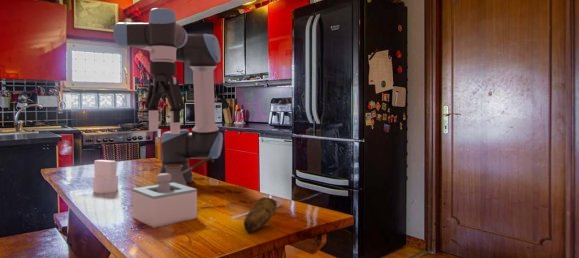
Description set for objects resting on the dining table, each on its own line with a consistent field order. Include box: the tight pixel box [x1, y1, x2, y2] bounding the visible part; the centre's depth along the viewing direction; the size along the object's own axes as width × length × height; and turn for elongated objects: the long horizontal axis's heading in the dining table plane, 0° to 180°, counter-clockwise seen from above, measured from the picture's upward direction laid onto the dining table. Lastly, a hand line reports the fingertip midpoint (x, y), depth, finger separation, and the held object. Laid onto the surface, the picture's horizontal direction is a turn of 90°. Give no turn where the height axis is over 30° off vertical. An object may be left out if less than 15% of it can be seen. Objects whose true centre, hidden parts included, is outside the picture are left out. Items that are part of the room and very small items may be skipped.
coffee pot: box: [164, 157, 215, 186], centre depth 144 cm, size 21×12×15 cm, turn 127°
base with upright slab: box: [92, 159, 119, 194], centre depth 157 cm, size 9×9×12 cm
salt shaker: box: [156, 173, 171, 193], centre depth 121 cm, size 6×6×13 cm
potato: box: [243, 197, 278, 233], centre depth 112 cm, size 8×13×8 cm, turn 136°
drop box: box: [131, 182, 198, 229], centre depth 121 cm, size 14×14×9 cm
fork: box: [230, 201, 284, 219], centre depth 128 cm, size 3×24×2 cm, turn 136°
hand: (164, 132), depth 119 cm, fingers open, 13 cm apart
